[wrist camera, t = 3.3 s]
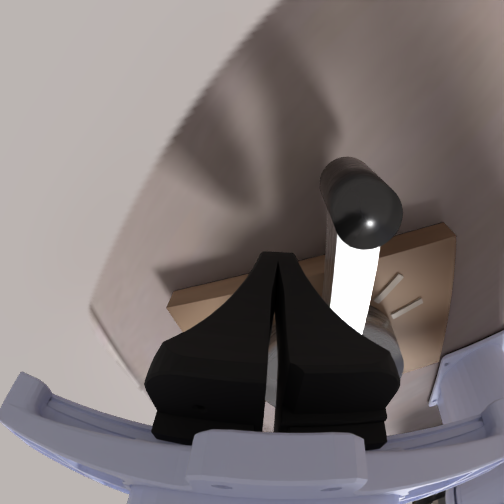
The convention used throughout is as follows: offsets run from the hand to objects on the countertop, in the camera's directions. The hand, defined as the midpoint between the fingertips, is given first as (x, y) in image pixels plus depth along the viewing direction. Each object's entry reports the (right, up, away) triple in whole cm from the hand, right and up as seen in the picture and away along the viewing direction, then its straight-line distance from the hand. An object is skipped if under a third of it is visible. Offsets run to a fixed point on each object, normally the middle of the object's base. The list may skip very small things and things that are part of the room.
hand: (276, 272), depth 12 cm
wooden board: (+4, -4, +5) cm, 8 cm away
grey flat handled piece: (+3, -2, +2) cm, 4 cm away
